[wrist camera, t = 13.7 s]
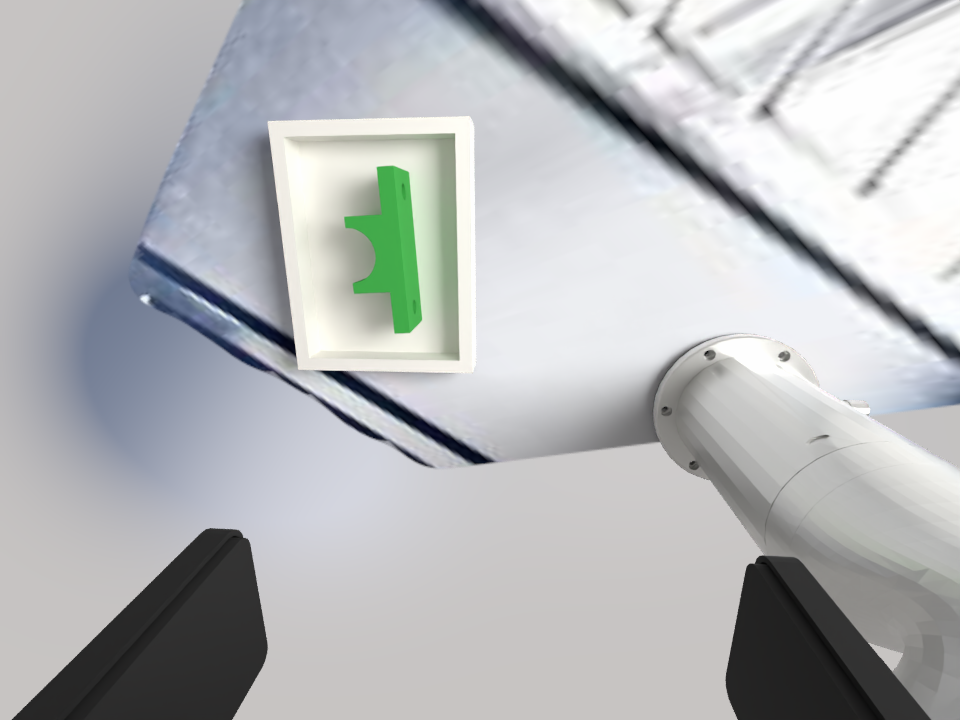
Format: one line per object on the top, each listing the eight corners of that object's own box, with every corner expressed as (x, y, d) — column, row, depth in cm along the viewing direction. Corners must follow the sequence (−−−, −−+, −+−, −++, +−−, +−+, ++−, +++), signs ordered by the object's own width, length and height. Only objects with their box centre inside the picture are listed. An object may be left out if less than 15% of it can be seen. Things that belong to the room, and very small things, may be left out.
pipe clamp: (360, 175, 35) (337, 168, 31) (409, 172, 35) (393, 164, 30) (377, 322, 38) (358, 335, 34) (422, 320, 38) (409, 333, 33)
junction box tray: (474, 124, 34) (469, 116, 31) (476, 362, 39) (472, 373, 36) (288, 129, 35) (267, 121, 32) (314, 359, 40) (298, 369, 38)
